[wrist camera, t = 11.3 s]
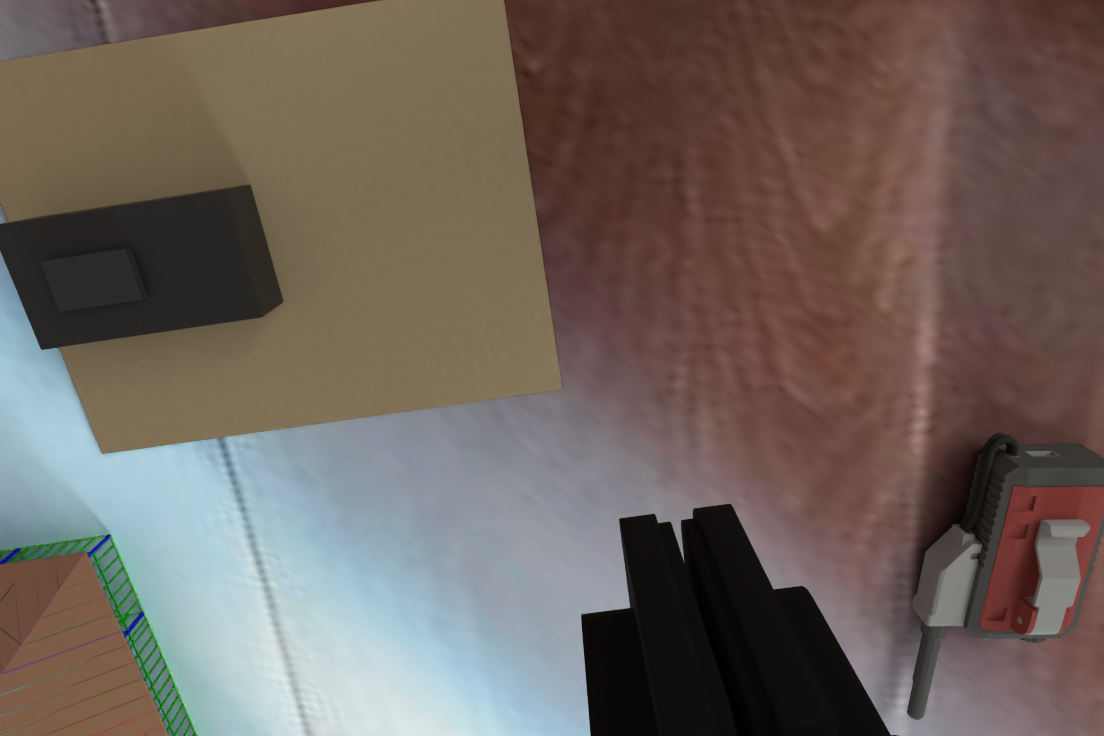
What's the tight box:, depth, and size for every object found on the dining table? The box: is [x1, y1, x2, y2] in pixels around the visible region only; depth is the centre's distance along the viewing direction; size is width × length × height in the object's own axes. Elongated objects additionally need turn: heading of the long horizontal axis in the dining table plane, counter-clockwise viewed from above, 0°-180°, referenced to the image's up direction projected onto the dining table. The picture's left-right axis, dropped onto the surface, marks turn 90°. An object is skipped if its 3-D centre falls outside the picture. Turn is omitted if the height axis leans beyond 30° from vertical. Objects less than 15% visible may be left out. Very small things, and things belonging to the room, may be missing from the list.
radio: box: [0, 185, 284, 350], centre depth 34 cm, size 6×4×11 cm
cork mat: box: [0, 0, 562, 454], centre depth 35 cm, size 20×26×1 cm
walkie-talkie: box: [907, 433, 1104, 720], centre depth 41 cm, size 9×4×20 cm
